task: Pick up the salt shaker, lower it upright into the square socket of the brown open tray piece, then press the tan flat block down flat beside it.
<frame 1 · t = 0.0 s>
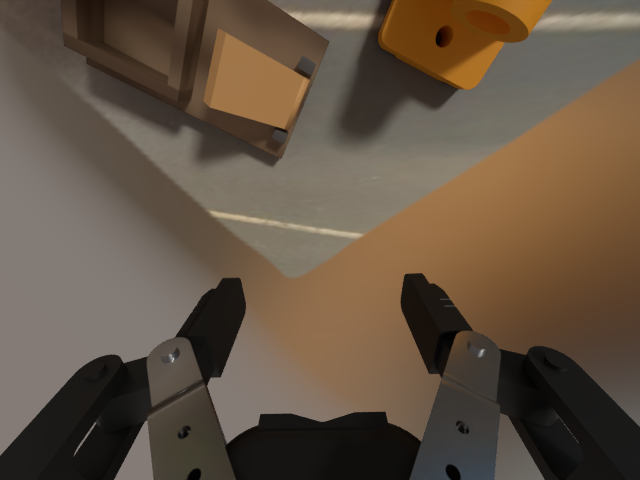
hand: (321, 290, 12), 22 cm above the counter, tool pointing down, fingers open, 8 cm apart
bracket: (438, 27, 24), on the counter
brown open tray piece: (213, 54, 24), on the counter
tan flat block: (262, 90, 21), point 5 cm above the counter, hinge at 45.0°
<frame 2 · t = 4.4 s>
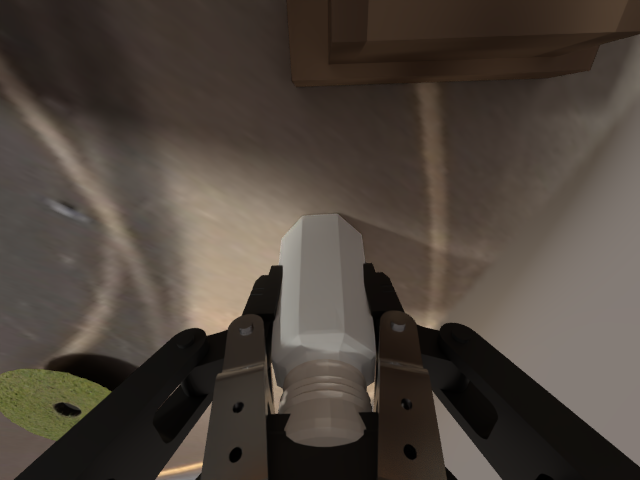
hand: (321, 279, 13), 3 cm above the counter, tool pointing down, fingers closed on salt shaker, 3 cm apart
green abrasive disc: (87, 388, 22), on the counter
salt shaker: (322, 248, 16), on the counter, touching gripper
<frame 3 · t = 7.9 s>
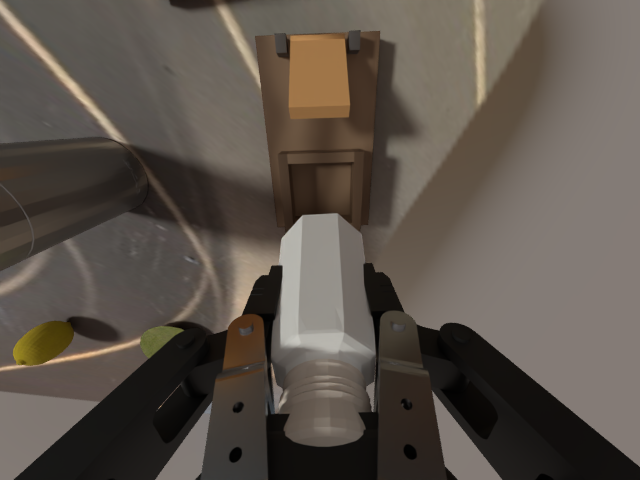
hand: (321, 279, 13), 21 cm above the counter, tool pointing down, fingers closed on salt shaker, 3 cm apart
brown open tray piece: (320, 143, 29), on the counter
green abrasive disc: (179, 340, 45), on the counter
tan flat block: (318, 73, 22), point 5 cm above the counter, hinge at 45.0°
lemon: (70, 322, 43), on the counter
salt shaker: (322, 248, 16), point 18 cm above the counter, touching gripper
when the fingers open (7 cm above the counter, at t = 11.4 s): salt shaker drops 1 cm, resting on brown open tray piece.
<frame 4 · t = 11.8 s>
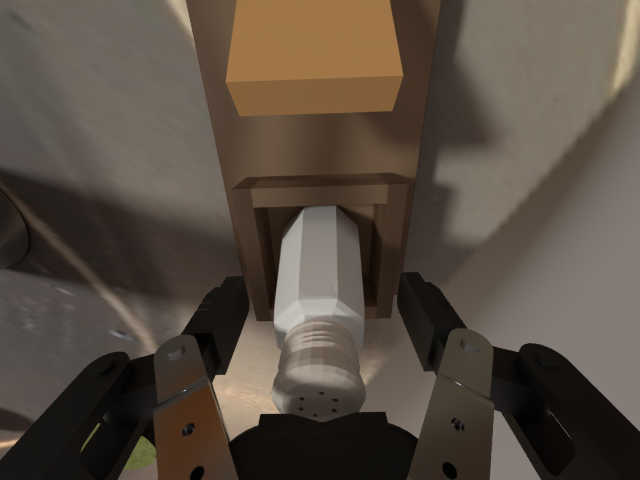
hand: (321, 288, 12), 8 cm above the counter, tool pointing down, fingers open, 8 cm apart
brown open tray piece: (319, 161, 16), on the counter
green abrasive disc: (121, 429, 32), on the counter
tan flat block: (312, 3, 9), point 5 cm above the counter, hinge at 45.0°
salt shaker: (321, 238, 17), point 2 cm above the counter, touching brown open tray piece
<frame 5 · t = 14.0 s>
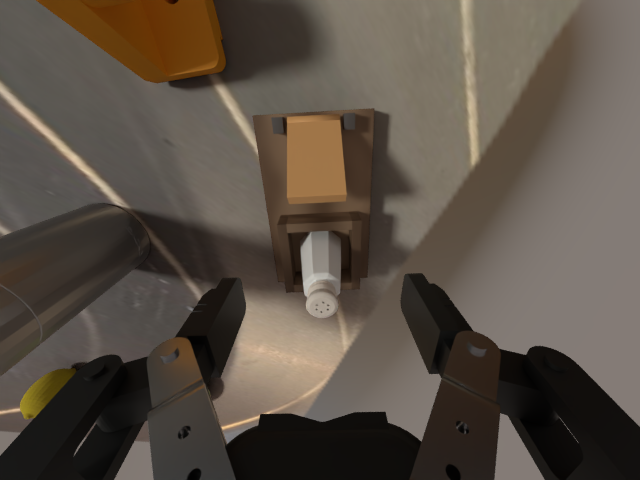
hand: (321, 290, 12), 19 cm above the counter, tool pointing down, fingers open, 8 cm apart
bracket: (175, 9, 22), on the counter
brown open tray piece: (318, 203, 30), on the counter
tan flat block: (315, 155, 22), point 5 cm above the counter, hinge at 45.0°
lemon: (75, 367, 43), on the counter
salt shaker: (320, 246, 30), point 2 cm above the counter, touching brown open tray piece
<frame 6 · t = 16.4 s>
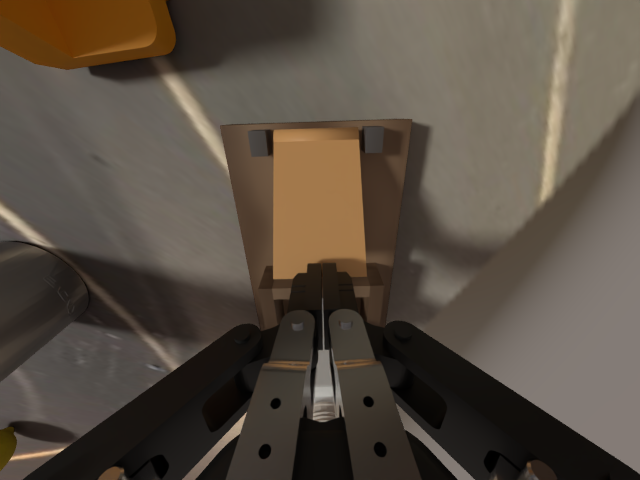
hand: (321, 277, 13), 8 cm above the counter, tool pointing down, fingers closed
brown open tray piece: (320, 247, 21), on the counter
tan flat block: (317, 200, 14), point 5 cm above the counter, hinge at 36.5°, touching gripper
lemon: (13, 425, 35), on the counter
salt shaker: (321, 304, 22), point 2 cm above the counter, touching brown open tray piece
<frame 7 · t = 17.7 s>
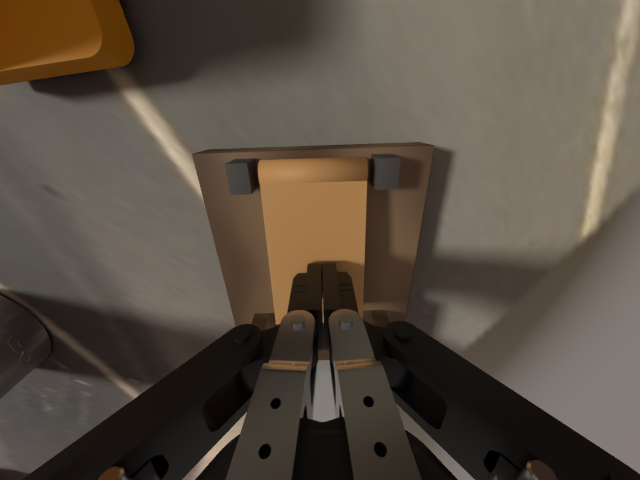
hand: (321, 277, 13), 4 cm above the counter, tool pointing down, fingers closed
brown open tray piece: (319, 287, 18), on the counter
tan flat block: (316, 246, 13), point 3 cm above the counter, hinge at 6.7°, touching gripper
salt shaker: (321, 353, 19), point 2 cm above the counter, touching brown open tray piece
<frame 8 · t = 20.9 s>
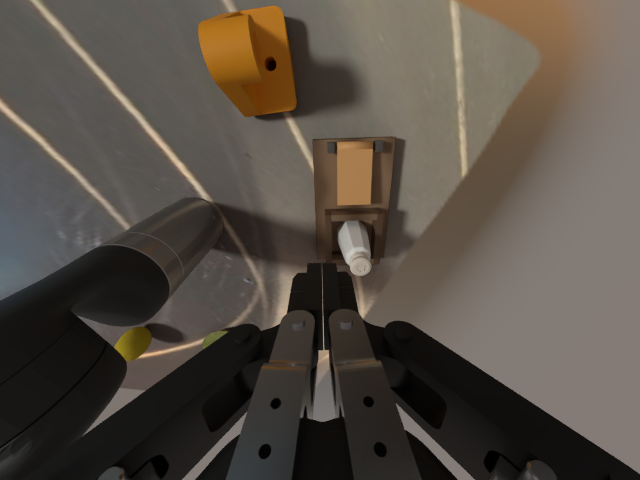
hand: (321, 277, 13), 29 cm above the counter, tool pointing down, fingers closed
bracket: (266, 69, 33), on the counter
brown open tray piece: (350, 201, 41), on the counter
green abrasive disc: (231, 341, 56), on the counter
tan flat block: (354, 174, 36), point 3 cm above the counter, hinge at 6.4°
lemon: (147, 327, 54), on the counter
salt shaker: (351, 232, 42), point 2 cm above the counter, touching brown open tray piece
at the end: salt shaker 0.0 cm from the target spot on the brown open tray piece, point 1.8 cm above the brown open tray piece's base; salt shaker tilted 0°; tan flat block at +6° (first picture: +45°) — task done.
